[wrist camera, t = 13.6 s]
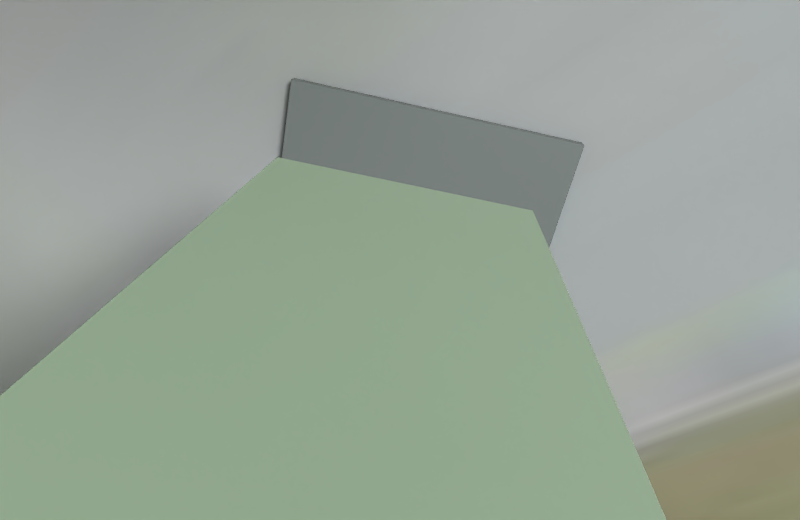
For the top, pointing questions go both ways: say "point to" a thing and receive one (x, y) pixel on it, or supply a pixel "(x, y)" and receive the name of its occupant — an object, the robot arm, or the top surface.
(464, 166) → the plate
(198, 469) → the pale green block
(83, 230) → the top surface
